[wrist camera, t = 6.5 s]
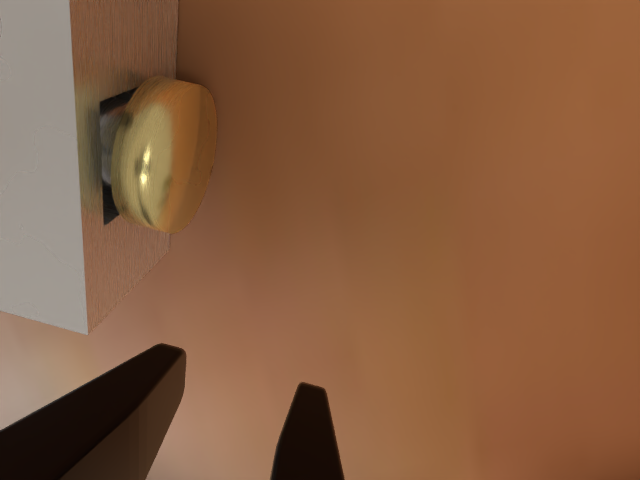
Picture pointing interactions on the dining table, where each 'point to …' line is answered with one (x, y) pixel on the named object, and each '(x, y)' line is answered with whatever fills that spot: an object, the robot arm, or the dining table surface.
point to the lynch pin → (159, 152)
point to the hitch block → (71, 153)
